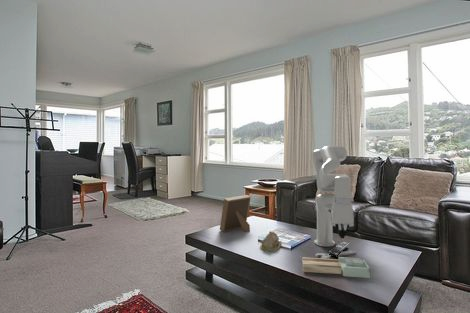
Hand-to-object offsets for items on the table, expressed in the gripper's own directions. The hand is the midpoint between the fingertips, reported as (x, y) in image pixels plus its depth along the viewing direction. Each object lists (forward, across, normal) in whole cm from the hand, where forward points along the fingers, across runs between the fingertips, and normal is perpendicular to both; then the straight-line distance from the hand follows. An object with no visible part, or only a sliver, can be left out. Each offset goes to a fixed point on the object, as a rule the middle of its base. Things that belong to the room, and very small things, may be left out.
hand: (342, 237), depth 138 cm
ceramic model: (+17, +36, -26) cm, 48 cm away
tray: (+17, -6, 0) cm, 18 cm away
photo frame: (+18, +62, -56) cm, 86 cm away
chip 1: (+14, -3, +1) cm, 15 cm away
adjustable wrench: (+18, -1, -18) cm, 25 cm away
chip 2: (+14, -7, 0) cm, 16 cm away
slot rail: (+17, +10, 0) cm, 20 cm away
